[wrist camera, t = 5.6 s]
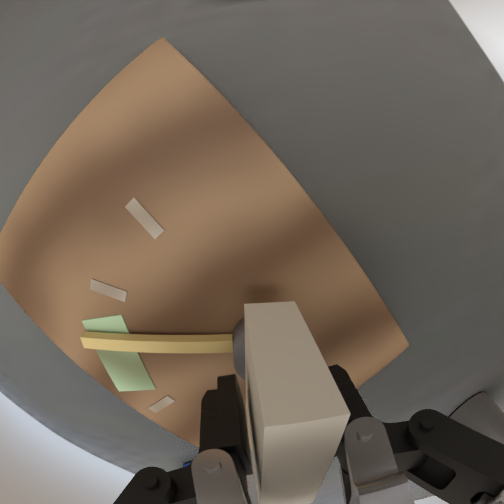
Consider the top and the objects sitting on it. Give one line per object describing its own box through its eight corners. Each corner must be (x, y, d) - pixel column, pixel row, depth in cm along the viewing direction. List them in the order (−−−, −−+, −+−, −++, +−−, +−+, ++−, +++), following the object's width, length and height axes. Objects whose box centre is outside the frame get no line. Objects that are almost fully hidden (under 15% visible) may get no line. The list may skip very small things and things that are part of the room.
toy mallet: (295, 281, 13) (369, 409, 5) (287, 377, 15) (324, 500, 7) (73, 285, 12) (-21, 385, 4) (101, 376, 14) (57, 484, 6)
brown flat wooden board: (395, 330, 17) (410, 346, 15) (226, 442, 19) (227, 462, 17) (169, 51, 11) (161, 35, 9) (5, 253, 13) (-14, 263, 11)
